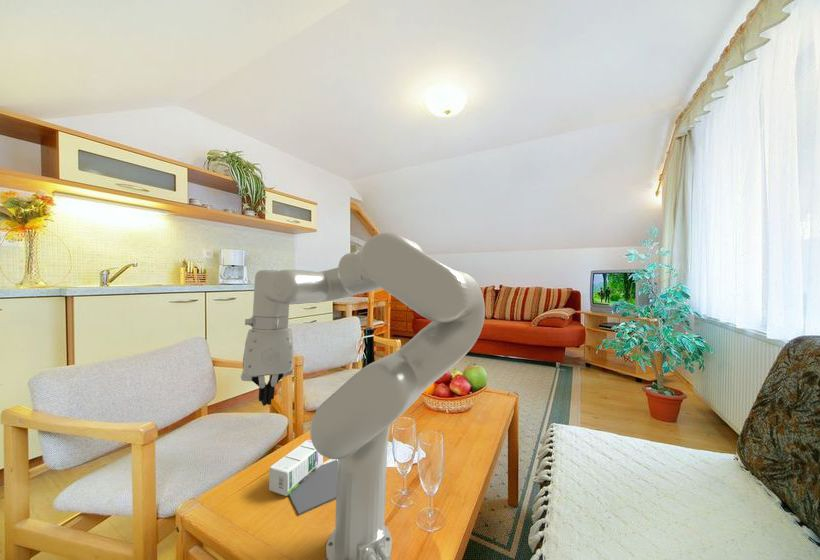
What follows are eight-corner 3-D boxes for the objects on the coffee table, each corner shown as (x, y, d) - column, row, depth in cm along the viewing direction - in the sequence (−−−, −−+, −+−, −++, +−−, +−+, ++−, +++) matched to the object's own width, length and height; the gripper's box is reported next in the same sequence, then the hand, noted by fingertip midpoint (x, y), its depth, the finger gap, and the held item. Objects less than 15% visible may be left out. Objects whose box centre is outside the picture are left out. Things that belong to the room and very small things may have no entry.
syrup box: (287, 472, 70) (325, 442, 83) (268, 466, 72) (308, 438, 85) (286, 497, 69) (324, 463, 83) (267, 490, 71) (307, 458, 85)
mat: (359, 488, 74) (359, 486, 74) (298, 515, 65) (298, 513, 65) (336, 461, 85) (336, 459, 85) (281, 481, 76) (281, 479, 76)
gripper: (234, 327, 60) (229, 416, 60) (308, 324, 69) (303, 402, 69) (231, 322, 66) (226, 403, 66) (299, 320, 75) (295, 392, 75)
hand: (266, 402), depth 67 cm, fingers closed
